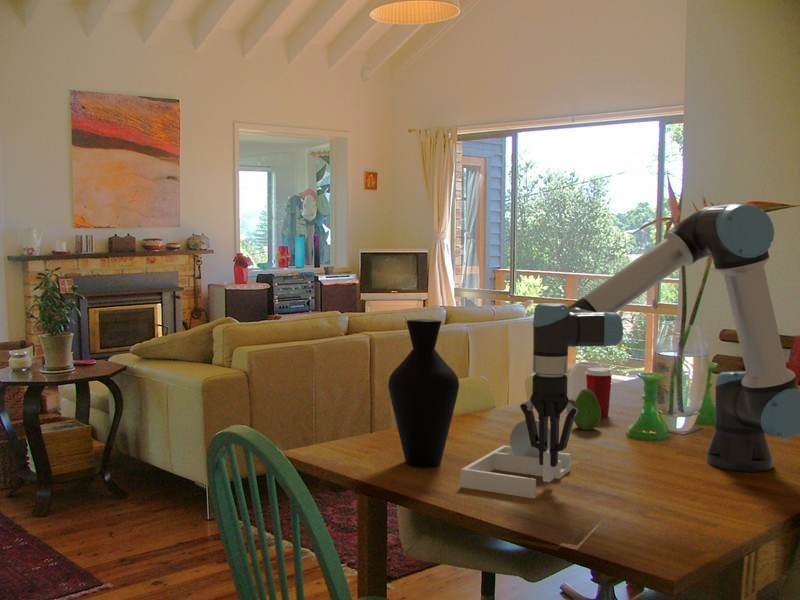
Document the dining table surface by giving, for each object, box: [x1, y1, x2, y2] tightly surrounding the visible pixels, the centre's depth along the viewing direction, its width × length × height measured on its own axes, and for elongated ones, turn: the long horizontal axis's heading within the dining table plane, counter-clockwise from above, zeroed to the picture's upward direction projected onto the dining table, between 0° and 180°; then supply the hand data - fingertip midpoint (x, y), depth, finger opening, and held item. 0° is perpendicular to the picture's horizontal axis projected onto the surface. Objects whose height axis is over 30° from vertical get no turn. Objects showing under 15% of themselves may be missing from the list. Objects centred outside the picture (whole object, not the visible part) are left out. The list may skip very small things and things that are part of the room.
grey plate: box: [509, 418, 550, 458], centre depth 201 cm, size 11×1×11 cm, turn 61°
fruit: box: [573, 389, 602, 431], centre depth 243 cm, size 8×8×12 cm
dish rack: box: [460, 445, 571, 499], centre depth 194 cm, size 17×25×4 cm
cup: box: [567, 361, 604, 403], centre depth 283 cm, size 13×13×14 cm
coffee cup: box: [585, 367, 613, 419], centre depth 261 cm, size 8×8×15 cm
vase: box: [387, 318, 460, 469], centre depth 205 cm, size 17×17×35 cm
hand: (548, 480), depth 187 cm, fingers closed
